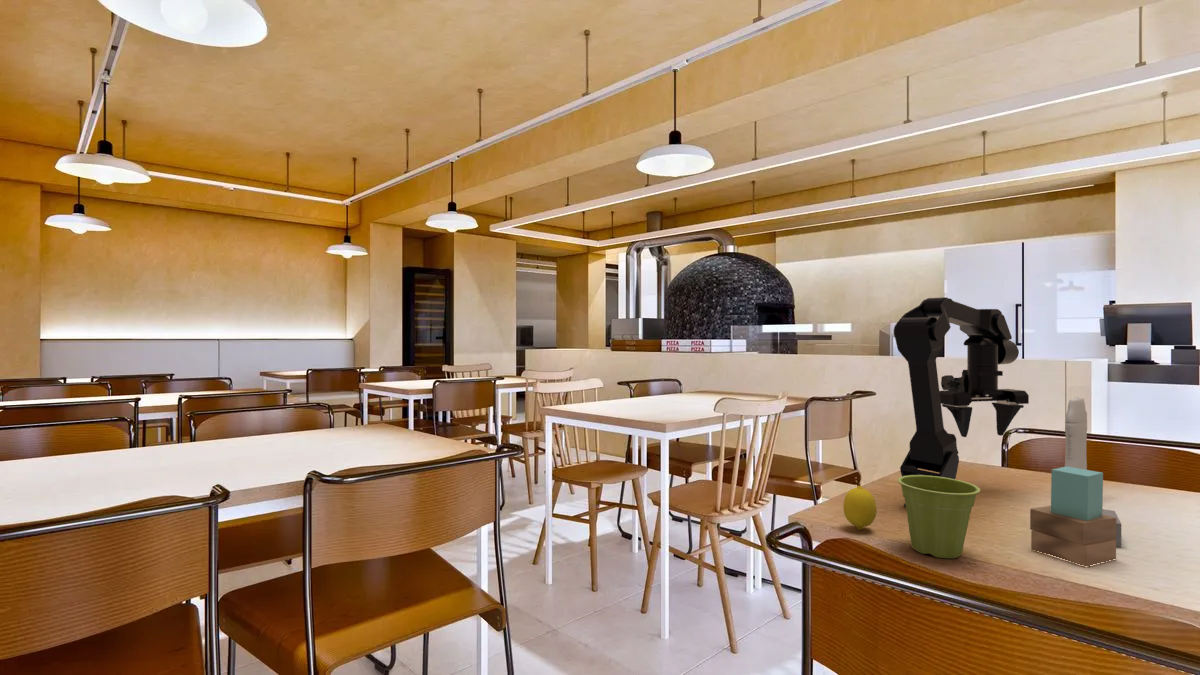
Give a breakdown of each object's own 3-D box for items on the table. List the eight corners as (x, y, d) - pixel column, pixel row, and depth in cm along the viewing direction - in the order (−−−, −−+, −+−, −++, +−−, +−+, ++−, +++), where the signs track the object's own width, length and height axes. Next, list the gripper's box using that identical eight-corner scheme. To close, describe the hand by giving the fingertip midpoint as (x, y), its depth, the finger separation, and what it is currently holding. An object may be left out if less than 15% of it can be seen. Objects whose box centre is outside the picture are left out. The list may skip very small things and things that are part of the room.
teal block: (1050, 512, 97) (1051, 469, 97) (1065, 507, 100) (1066, 466, 100) (1087, 520, 93) (1088, 476, 93) (1102, 516, 95) (1103, 472, 95)
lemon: (874, 526, 110) (874, 483, 110) (877, 536, 105) (878, 491, 105) (842, 523, 112) (842, 481, 112) (844, 532, 107) (844, 488, 107)
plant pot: (946, 570, 90) (946, 496, 90) (881, 544, 101) (881, 478, 101) (996, 558, 95) (997, 488, 95) (929, 535, 106) (930, 472, 106)
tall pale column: (1071, 490, 136) (1072, 394, 136) (1094, 494, 133) (1095, 396, 133) (1056, 498, 130) (1057, 397, 130) (1079, 502, 126) (1080, 399, 126)
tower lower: (1031, 551, 99) (1031, 530, 99) (1060, 544, 102) (1060, 524, 102) (1086, 569, 91) (1086, 546, 91) (1115, 561, 95) (1116, 539, 95)
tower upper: (1030, 529, 99) (1030, 508, 99) (1062, 524, 102) (1062, 504, 102) (1083, 545, 92) (1083, 523, 92) (1116, 539, 95) (1116, 517, 94)
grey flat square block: (1053, 536, 105) (1054, 514, 105) (1051, 523, 113) (1052, 502, 112) (1121, 547, 100) (1121, 523, 100) (1114, 532, 107) (1114, 510, 107)
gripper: (989, 363, 141) (989, 428, 141) (919, 364, 138) (919, 431, 138) (1031, 366, 130) (1030, 437, 130) (955, 367, 127) (955, 440, 127)
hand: (982, 436), depth 132 cm, fingers open, 9 cm apart
